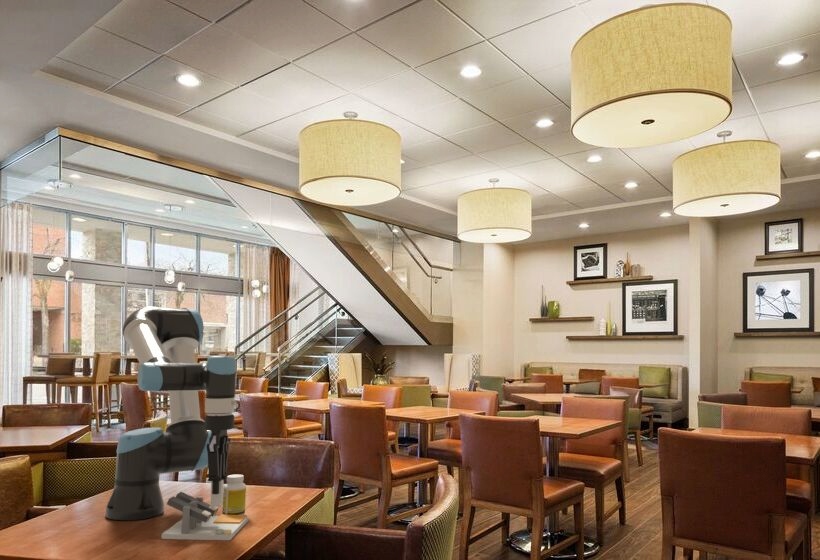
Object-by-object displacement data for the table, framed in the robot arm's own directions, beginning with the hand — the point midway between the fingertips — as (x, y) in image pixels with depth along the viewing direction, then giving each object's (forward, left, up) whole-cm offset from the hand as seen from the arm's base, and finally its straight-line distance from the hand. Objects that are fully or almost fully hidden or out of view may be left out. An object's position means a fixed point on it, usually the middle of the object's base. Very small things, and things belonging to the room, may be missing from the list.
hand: (216, 505), depth 160 cm
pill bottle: (+1, +14, -6) cm, 16 cm away
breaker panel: (-2, +1, -6) cm, 7 cm away
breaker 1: (-5, -5, 0) cm, 7 cm away
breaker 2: (-5, 0, 0) cm, 5 cm away
